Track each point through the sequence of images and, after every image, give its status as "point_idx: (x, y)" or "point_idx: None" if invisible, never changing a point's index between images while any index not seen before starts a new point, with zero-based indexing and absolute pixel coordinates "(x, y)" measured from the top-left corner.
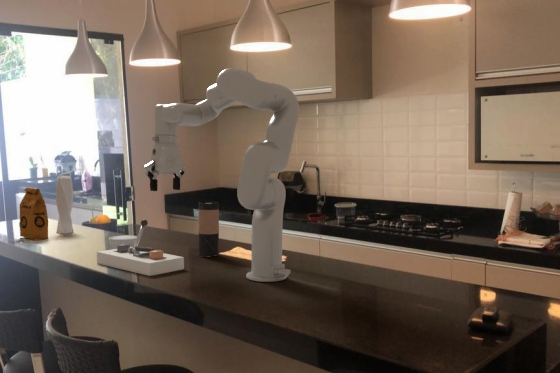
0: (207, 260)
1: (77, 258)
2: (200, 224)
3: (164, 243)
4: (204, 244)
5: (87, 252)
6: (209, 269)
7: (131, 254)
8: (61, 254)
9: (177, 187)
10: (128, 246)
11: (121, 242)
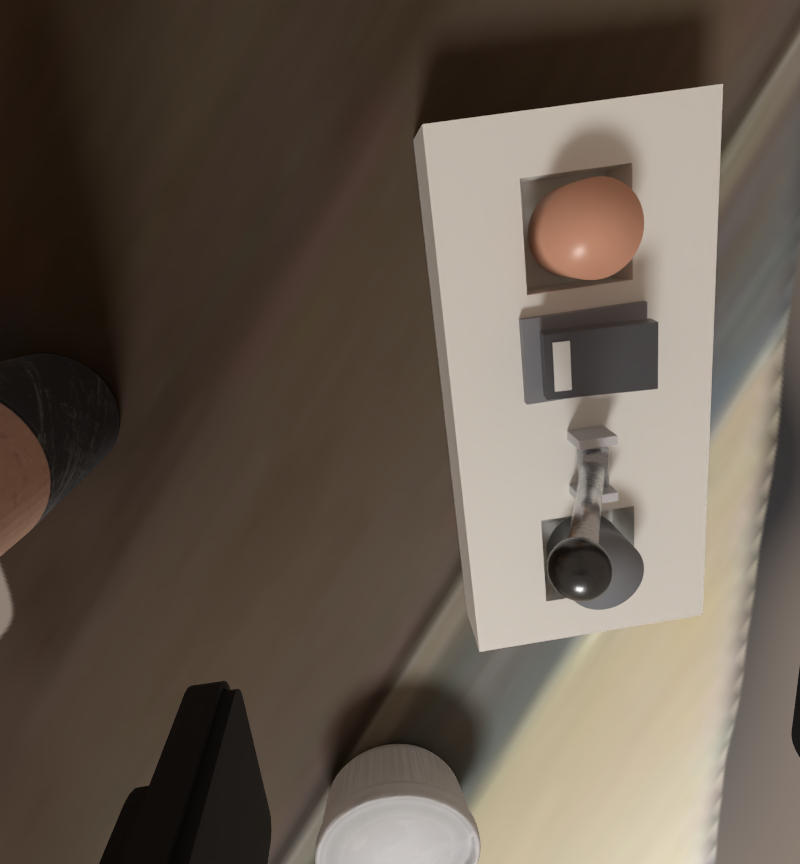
0: (138, 286)
1: (663, 724)
2: (1, 497)
3: None
4: (67, 403)
5: (552, 821)
6: (282, 8)
7: (618, 435)
8: (660, 831)
9: (234, 741)
10: None
11: (443, 789)
